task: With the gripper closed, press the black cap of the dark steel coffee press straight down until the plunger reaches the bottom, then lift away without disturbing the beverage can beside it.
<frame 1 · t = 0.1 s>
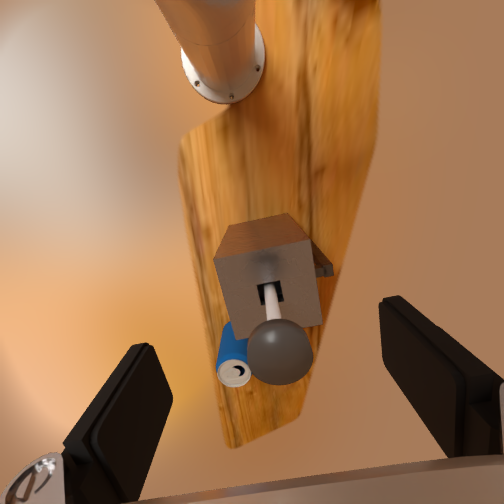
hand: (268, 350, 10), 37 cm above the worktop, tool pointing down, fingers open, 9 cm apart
plunger: (271, 298, 28), point 20 cm above the worktop, slide at 9.0 cm
press: (263, 247, 47), on the worktop
beverage can: (238, 330, 53), on the worktop
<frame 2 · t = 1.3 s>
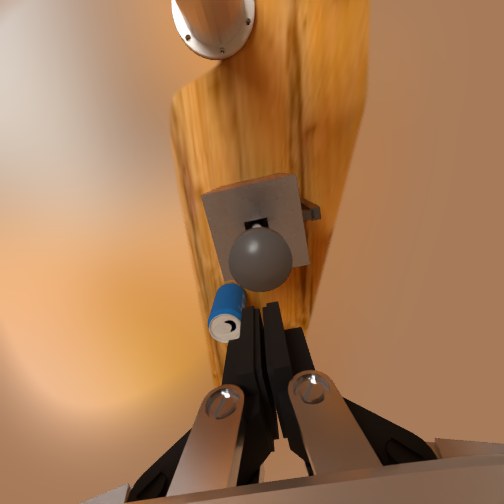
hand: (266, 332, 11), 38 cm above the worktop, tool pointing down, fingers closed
plunger: (257, 233, 29), point 20 cm above the worktop, slide at 9.0 cm
press: (255, 208, 48), on the worktop
beverage can: (231, 295, 54), on the worktop
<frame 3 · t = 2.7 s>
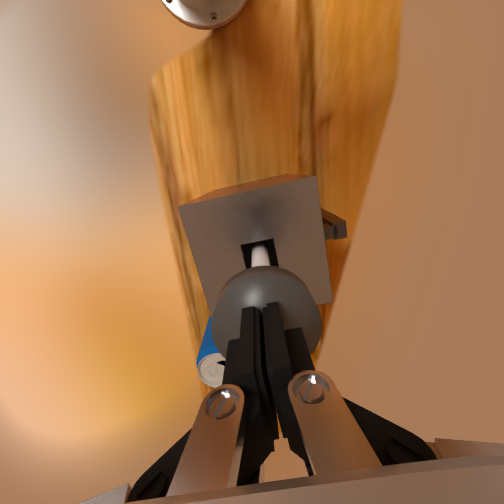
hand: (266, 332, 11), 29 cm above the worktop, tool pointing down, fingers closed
plunger: (260, 258, 20), point 19 cm above the worktop, slide at 8.2 cm, touching gripper
press: (256, 218, 39), on the worktop
beverage can: (227, 319, 45), on the worktop
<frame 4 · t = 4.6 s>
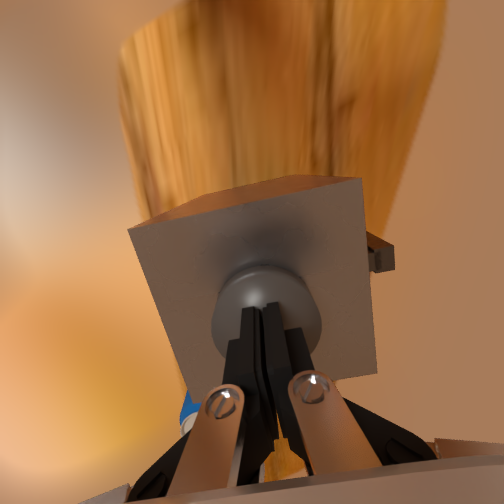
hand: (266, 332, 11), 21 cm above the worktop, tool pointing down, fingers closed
plunger: (260, 258, 20), point 11 cm above the worktop, slide at 0.0 cm, touching gripper
press: (257, 229, 31), on the worktop
beverage can: (222, 351, 37), on the worktop
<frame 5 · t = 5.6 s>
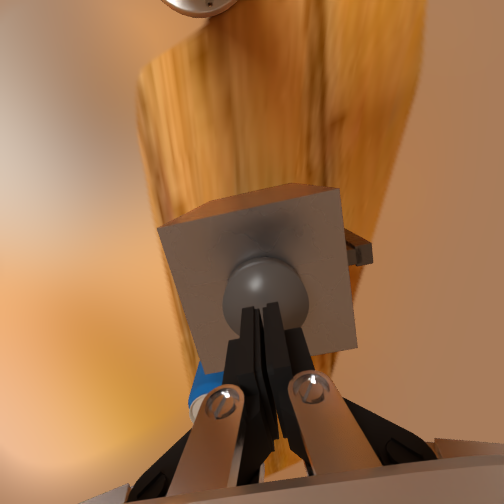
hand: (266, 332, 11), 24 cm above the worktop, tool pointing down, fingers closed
plunger: (261, 256, 24), point 11 cm above the worktop, slide at 0.0 cm
press: (258, 231, 34), on the worktop
beverage can: (225, 345, 40), on the worktop
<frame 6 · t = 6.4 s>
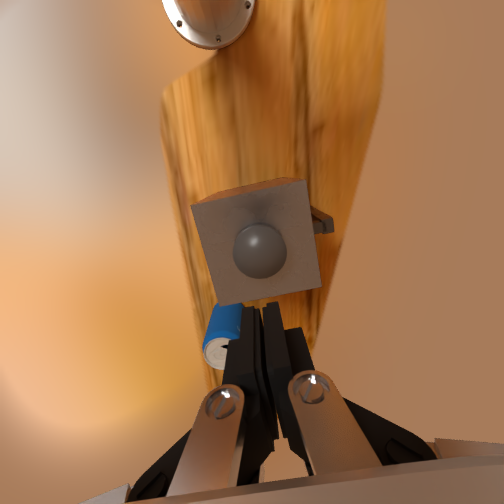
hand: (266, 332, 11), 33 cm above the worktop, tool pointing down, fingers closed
plunger: (257, 231, 32), point 11 cm above the worktop, slide at 0.0 cm
press: (256, 217, 43), on the worktop
beverage can: (229, 311, 49), on the worktop
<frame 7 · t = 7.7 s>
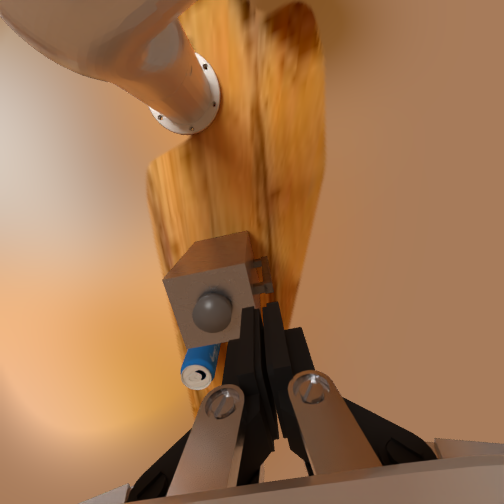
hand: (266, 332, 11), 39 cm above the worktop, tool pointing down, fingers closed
plunger: (221, 284, 41), point 11 cm above the worktop, slide at 0.0 cm
press: (227, 261, 52), on the worktop
beverage can: (207, 336, 58), on the worktop
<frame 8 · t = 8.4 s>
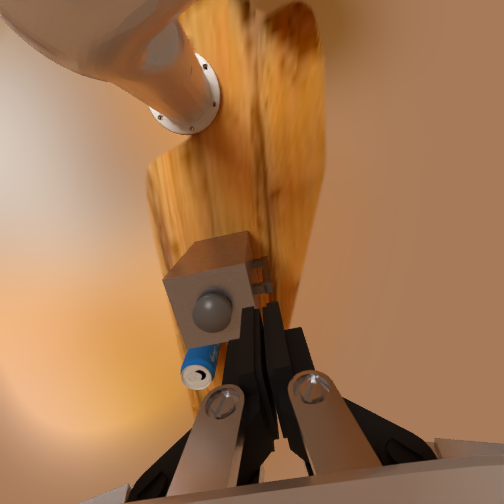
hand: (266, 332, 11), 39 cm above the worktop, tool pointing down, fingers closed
plunger: (221, 284, 41), point 11 cm above the worktop, slide at 0.0 cm
press: (227, 261, 52), on the worktop
beverage can: (207, 336, 58), on the worktop
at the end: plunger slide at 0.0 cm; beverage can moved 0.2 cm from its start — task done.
